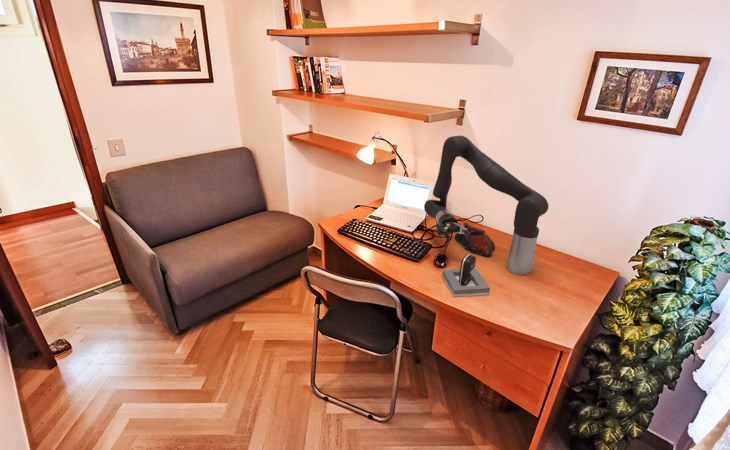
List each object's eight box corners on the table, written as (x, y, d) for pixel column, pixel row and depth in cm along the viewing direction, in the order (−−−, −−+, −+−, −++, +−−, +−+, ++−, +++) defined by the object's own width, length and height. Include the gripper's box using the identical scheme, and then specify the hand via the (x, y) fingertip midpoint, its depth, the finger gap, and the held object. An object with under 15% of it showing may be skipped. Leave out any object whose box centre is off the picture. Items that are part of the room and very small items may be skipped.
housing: (474, 274, 152) (475, 268, 151) (488, 294, 139) (490, 288, 138) (442, 276, 150) (442, 270, 149) (453, 296, 138) (454, 290, 137)
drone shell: (457, 231, 188) (459, 217, 185) (496, 239, 181) (499, 224, 178) (449, 250, 171) (451, 235, 167) (492, 259, 164) (495, 243, 160)
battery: (466, 287, 141) (470, 262, 137) (457, 284, 144) (461, 259, 139) (473, 279, 147) (477, 255, 142) (464, 276, 149) (468, 252, 144)
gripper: (431, 214, 161) (443, 229, 147) (462, 212, 163) (476, 227, 148) (430, 229, 165) (441, 246, 150) (460, 227, 166) (474, 243, 152)
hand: (459, 236), depth 149 cm, fingers open, 8 cm apart
